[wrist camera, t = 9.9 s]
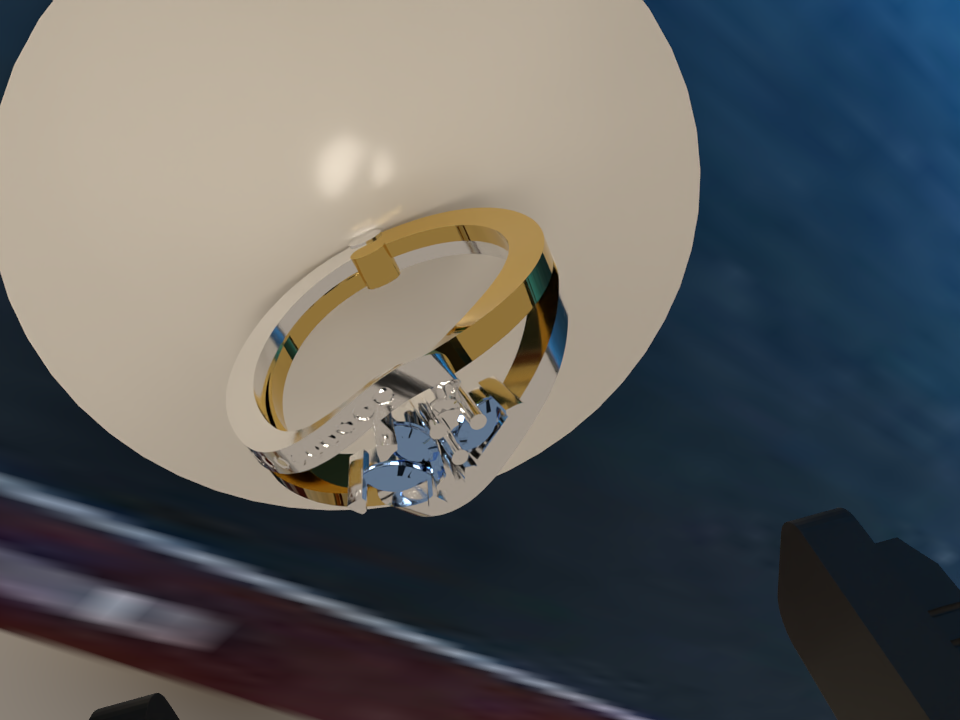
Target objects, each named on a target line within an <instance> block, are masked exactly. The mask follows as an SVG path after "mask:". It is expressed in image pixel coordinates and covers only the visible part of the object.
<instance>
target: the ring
mask: <svg viewBox="0 0 960 720" xmlns="http://www.w3.org/2000/svg"><path fill="white" fill-rule="evenodd" d="M348 246H349V248H348V249H346V250H344V251H342V252H341V253H339V254H337V255H336V256H334V257H332V258H331V259H329V260H328V261H326V262H325V263H323V264H322V265H320V266H319V267H317V268H316V269H315V270H313V271H312V272H311V273H309V274H308V275H307V276H305V277H304V278H303V279H302V280H300V281H299V282H298V283H297V284H296V285H294V286H293V287H292V288H291V289H290V290H289V291H288V292H287V293H286V294H285V295H283V296H282V297H281V298H280V299H279V300H278V301H277V302H276V304H275V305H274V306H273V307H272V308H271V309H270V310H269V311H268V312H267V313H266V315H265V316H264V317H263V318H262V319H261V321H260V322H259V323H258V325H257V326H256V327H255V329H254V330H253V331H252V333H251V334H250V336H249V337H248V339H247V340H246V342H245V344H244V345H243V347H242V349H241V351H240V353H239V355H238V356H237V359H236V361H235V363H234V365H233V368H232V370H231V373H230V376H229V380H228V384H227V390H226V410H227V415H228V418H229V421H230V424H231V426H232V428H233V430H234V432H235V434H236V435H237V437H238V438H239V439H240V441H241V442H242V443H243V444H244V446H245V447H246V448H247V449H248V451H249V452H250V453H251V454H252V456H253V457H254V458H255V459H256V460H257V461H258V462H259V463H260V464H261V465H262V466H263V467H265V468H266V469H268V471H269V472H270V473H271V474H272V475H273V476H274V478H275V479H276V480H277V481H278V482H280V483H281V484H282V485H283V486H284V487H286V488H287V489H289V490H290V491H292V492H294V493H295V494H297V495H299V496H301V497H304V498H306V499H309V500H312V501H315V502H319V503H323V504H328V505H335V506H345V507H348V508H349V509H351V510H353V511H355V512H358V513H361V514H364V513H365V512H366V511H367V507H368V506H380V505H389V506H391V507H394V508H397V509H399V510H402V511H404V512H407V513H409V514H413V515H417V516H437V515H442V514H445V513H448V512H451V511H453V510H456V509H458V508H460V507H461V506H463V505H465V504H466V503H468V502H469V501H471V500H472V499H473V498H475V497H476V496H477V495H478V494H479V493H480V492H481V491H482V490H483V489H484V488H485V487H486V486H487V485H488V484H489V483H490V482H491V481H492V480H493V479H494V478H495V476H496V475H497V474H498V473H499V471H500V470H501V469H502V468H503V466H504V465H505V464H506V462H507V461H508V460H509V458H510V457H511V455H512V454H513V453H514V451H515V450H516V448H517V447H518V445H519V444H520V442H521V441H522V439H523V438H524V436H525V435H526V433H527V432H528V430H529V429H530V427H531V425H532V424H533V422H534V421H535V419H536V417H537V416H538V414H539V412H540V411H541V409H542V407H543V405H544V404H545V402H546V400H547V398H548V396H549V394H550V392H551V389H552V387H553V385H554V383H555V380H556V378H557V375H558V372H559V369H560V366H561V363H562V359H563V355H564V351H565V346H566V340H567V331H568V303H567V295H566V291H565V287H564V284H563V281H562V278H561V275H560V272H559V270H558V267H557V264H556V261H555V258H554V256H553V254H552V252H551V251H550V249H549V246H548V244H547V241H546V239H545V236H544V234H543V231H542V229H541V228H540V226H539V225H538V224H537V223H536V222H535V221H534V220H533V219H531V218H530V217H528V216H526V215H524V214H522V213H519V212H516V211H512V210H508V209H501V208H468V209H460V210H453V211H448V212H443V213H439V214H434V215H430V216H427V217H423V218H420V219H417V220H414V221H410V222H408V223H405V224H402V225H399V226H396V227H394V228H391V229H389V230H386V231H384V232H382V231H381V229H376V230H372V231H369V232H366V233H364V234H362V235H360V236H358V237H356V238H355V239H353V240H352V241H351V242H350V243H349V244H348ZM459 254H483V255H490V256H495V257H499V258H502V259H505V260H506V262H505V264H504V266H503V268H502V270H501V271H500V273H499V275H498V276H497V278H496V279H495V280H494V282H493V283H492V284H491V286H490V287H489V288H488V289H487V291H486V292H485V293H484V294H483V295H482V297H481V298H480V299H479V300H478V301H477V302H476V304H475V305H474V306H473V307H472V308H471V309H470V310H469V311H468V312H467V313H466V314H465V316H464V317H463V318H462V319H461V320H460V321H459V322H458V323H457V324H456V325H455V326H454V327H453V328H452V329H451V330H450V331H449V332H448V333H447V334H446V335H445V336H444V337H443V338H442V339H441V340H440V341H439V342H438V343H437V345H436V346H435V347H434V348H433V349H431V350H430V351H429V352H428V353H427V354H426V355H424V356H422V357H419V358H417V359H414V360H412V361H410V362H407V363H402V364H399V365H396V366H394V367H392V368H390V369H388V370H386V371H384V372H383V373H381V374H380V375H378V376H377V377H375V378H374V379H373V380H371V381H370V382H369V383H367V384H366V385H365V386H364V387H362V388H361V389H360V390H359V391H357V392H356V393H355V394H354V395H352V396H351V397H350V398H349V399H348V400H346V401H345V402H344V403H342V404H341V405H340V406H339V407H337V408H336V409H335V410H333V411H332V412H331V413H329V414H328V415H326V416H325V417H323V418H322V419H320V420H319V421H317V422H315V423H314V424H312V425H310V426H308V427H306V428H303V429H300V430H297V431H290V432H288V429H287V427H286V424H285V420H284V415H283V391H284V385H285V381H286V377H287V374H288V371H289V368H290V366H291V363H292V361H293V359H294V357H295V355H296V353H297V352H298V350H299V348H300V347H301V345H302V344H303V342H304V341H305V339H306V338H307V337H308V335H309V334H310V333H311V331H312V330H313V329H314V328H315V327H316V326H317V325H318V324H319V322H320V321H321V320H322V319H323V318H324V317H326V316H327V315H328V314H329V313H330V312H331V311H332V310H333V309H335V308H336V307H337V306H338V305H339V304H341V303H342V302H343V301H345V300H346V299H348V298H349V297H350V296H352V295H353V294H355V293H357V292H358V291H360V290H361V289H363V288H365V287H367V288H368V289H376V288H379V287H381V286H384V285H386V284H388V283H390V282H392V281H393V280H395V279H396V278H397V277H398V276H399V275H400V271H399V270H401V269H404V268H406V267H409V266H412V265H415V264H418V263H421V262H424V261H427V260H431V259H435V258H440V257H445V256H451V255H459ZM526 315H527V317H526V323H525V328H524V332H523V336H522V339H521V342H520V345H519V348H518V351H517V354H516V356H515V359H514V361H513V364H512V366H511V368H510V370H509V372H508V374H507V376H506V378H505V380H504V382H503V383H502V382H501V381H500V380H499V379H498V378H496V377H495V376H491V377H489V378H486V379H484V380H482V381H480V382H478V385H479V387H477V388H475V389H473V390H471V391H470V392H468V393H467V392H466V390H465V389H464V388H463V386H462V385H461V381H460V379H459V378H458V376H457V374H456V372H458V371H459V370H461V369H462V368H464V367H465V366H467V365H468V364H469V363H471V362H472V361H474V360H475V359H476V358H478V357H479V356H481V355H482V354H483V353H485V352H486V351H487V350H489V349H490V348H491V347H492V346H494V345H495V344H496V343H497V342H499V341H500V340H501V339H502V338H503V337H504V336H506V335H507V334H508V333H509V332H510V331H511V330H512V329H513V328H514V327H515V326H516V325H517V324H519V323H520V321H521V320H522V319H523V318H524V317H525V316H526ZM408 400H409V401H408ZM406 401H408V403H407V404H406V406H405V407H404V408H398V407H399V406H400V405H402V404H403V403H405V402H406ZM372 427H373V433H374V439H375V445H376V447H375V448H372V449H370V450H368V451H366V450H364V449H362V450H360V451H358V452H356V453H355V454H339V453H340V452H342V451H343V450H344V449H346V448H347V447H348V446H350V445H351V444H352V443H354V442H355V441H356V440H357V439H359V438H360V437H361V436H362V435H364V434H365V433H366V432H367V431H368V430H370V429H371V428H372Z"/></svg>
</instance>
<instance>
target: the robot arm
mask: <svg viewBox="0 0 960 720" xmlns="http://www.w3.org/2000/svg"><path fill="white" fill-rule="evenodd" d="M778 604H779V609H780V613H781V617H782V620H783V623H784V626H785V628H786V631H787V633H788V635H789V638H790V640H791V642H792V643H793V645H794V647H795V649H796V650H797V652H798V654H799V655H800V657H801V659H802V660H803V662H804V664H805V665H806V667H807V669H808V671H809V672H810V674H811V676H812V677H813V679H814V681H815V682H816V684H817V686H818V687H819V689H820V691H821V693H822V694H823V696H824V698H825V699H826V701H827V703H828V704H829V706H830V708H831V709H832V711H833V713H834V714H835V716H836V718H837V720H960V590H959V589H958V588H957V586H956V585H955V584H954V583H953V582H952V580H951V579H950V578H949V577H948V575H947V574H946V573H945V572H944V571H943V569H942V568H941V567H940V566H939V565H938V564H937V563H936V562H934V561H933V560H931V559H930V558H928V557H926V556H925V555H923V554H922V553H920V552H919V551H917V550H916V549H914V548H913V547H911V546H909V545H908V544H906V543H905V542H903V541H902V540H900V539H899V538H893V539H890V540H886V541H883V542H879V543H874V542H873V540H872V539H871V538H870V536H869V535H868V534H867V532H866V531H865V530H864V529H863V527H862V526H861V525H860V523H859V522H858V521H857V520H856V518H855V517H854V516H853V515H852V514H851V513H850V512H849V511H847V510H846V509H843V508H836V509H833V510H829V511H825V512H822V513H818V514H814V515H811V516H807V517H804V518H800V519H796V520H793V521H789V522H786V523H784V525H783V527H782V531H781V545H780V563H779V581H778ZM89 720H179V718H178V717H177V715H176V714H175V712H174V711H173V709H172V707H171V706H170V705H169V703H168V702H167V700H166V699H165V697H164V696H163V695H161V694H159V693H155V694H151V695H148V696H144V697H141V698H137V699H133V700H129V701H126V702H122V703H119V704H115V705H111V706H108V707H104V708H101V709H98V710H96V711H95V712H93V714H92V715H91V717H90V719H89Z"/></svg>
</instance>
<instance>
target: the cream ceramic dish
mask: <svg viewBox="0 0 960 720" xmlns="http://www.w3.org/2000/svg"><path fill="white" fill-rule="evenodd" d="M699 189H700V162H699V150H698V139H697V129H696V125H695V121H694V116H693V112H692V108H691V103H690V99H689V95H688V90H687V87H686V85H685V82H684V79H683V77H682V74H681V72H680V69H679V67H678V64H677V61H676V59H675V56H674V54H673V51H672V48H671V47H670V45H669V43H668V41H667V40H666V38H665V36H664V34H663V32H662V31H661V29H660V27H659V25H658V24H657V22H656V20H655V18H654V16H653V15H652V13H651V11H650V9H649V8H648V7H647V5H646V4H645V3H644V2H643V0H53V2H52V3H51V4H50V6H49V7H48V8H47V10H46V11H45V12H44V13H43V15H42V16H41V17H40V19H39V20H38V22H37V24H36V26H35V28H34V30H33V31H32V33H31V35H30V37H29V39H28V41H27V43H26V44H25V46H24V48H23V50H22V52H21V54H20V55H19V57H18V59H17V61H16V63H15V65H14V67H13V70H12V73H11V76H10V79H9V82H8V85H7V87H6V90H5V93H4V96H3V99H2V102H1V105H0V272H1V276H2V279H3V282H4V285H5V289H6V292H7V295H8V298H9V301H10V303H11V305H12V307H13V309H14V311H15V313H16V315H17V317H18V319H19V322H20V324H21V326H22V328H23V330H24V332H25V334H26V336H27V338H28V340H29V341H30V343H31V344H32V346H33V347H34V349H35V350H36V352H37V353H38V355H39V357H40V358H41V360H42V361H43V363H44V364H45V366H46V367H47V369H48V370H49V372H50V373H51V375H52V376H53V377H54V378H55V379H56V380H57V381H58V383H59V384H60V385H61V386H62V387H63V388H64V389H65V391H66V392H67V393H68V394H69V395H70V396H71V398H72V399H73V400H74V401H75V402H76V403H77V404H78V406H79V407H81V408H82V409H83V410H84V411H85V412H86V413H87V414H88V415H90V416H91V417H92V418H93V419H94V420H95V421H96V422H97V423H99V424H100V425H101V426H102V427H103V428H104V429H105V430H106V431H108V432H109V433H110V434H111V435H113V436H114V437H116V438H117V439H118V440H120V441H121V442H123V443H124V444H126V445H127V446H129V447H130V448H131V449H133V450H134V451H136V452H137V453H139V454H140V455H142V456H143V457H145V458H147V459H149V460H150V461H152V462H154V463H156V464H158V465H160V466H162V467H163V468H165V469H167V470H169V471H171V472H173V473H175V474H177V475H178V476H181V477H183V478H186V479H188V480H191V481H193V482H196V483H198V484H201V485H203V486H206V487H208V488H211V489H213V490H216V491H220V492H223V493H227V494H230V495H234V496H237V497H241V498H244V499H248V500H251V501H256V502H262V503H268V504H274V505H279V506H285V507H291V508H305V509H318V510H351V509H349V508H348V507H345V506H335V505H328V504H323V503H319V502H315V501H312V500H309V499H306V498H304V497H301V496H299V495H297V494H295V493H294V492H292V491H290V490H289V489H287V488H286V487H284V486H283V485H282V484H281V483H280V482H278V481H277V480H276V479H275V478H274V476H273V475H272V474H271V473H270V472H269V471H268V469H266V468H265V467H263V466H262V465H261V464H260V463H259V462H258V461H257V460H256V459H255V458H254V457H253V456H252V454H251V453H250V452H249V451H248V449H247V448H246V447H245V446H244V444H243V443H242V442H241V441H240V439H239V438H238V437H237V435H236V434H235V432H234V430H233V428H232V426H231V424H230V421H229V418H228V415H227V410H226V390H227V384H228V380H229V376H230V373H231V370H232V368H233V365H234V363H235V361H236V359H237V356H238V355H239V353H240V351H241V349H242V347H243V345H244V344H245V342H246V340H247V339H248V337H249V336H250V334H251V333H252V331H253V330H254V329H255V327H256V326H257V325H258V323H259V322H260V321H261V319H262V318H263V317H264V316H265V315H266V313H267V312H268V311H269V310H270V309H271V308H272V307H273V306H274V305H275V304H276V302H277V301H278V300H279V299H280V298H281V297H282V296H283V295H285V294H286V293H287V292H288V291H289V290H290V289H291V288H292V287H293V286H294V285H296V284H297V283H298V282H299V281H300V280H302V279H303V278H304V277H305V276H307V275H308V274H309V273H311V272H312V271H313V270H315V269H316V268H317V267H319V266H320V265H322V264H323V263H325V262H326V261H328V260H329V259H331V258H332V257H334V256H336V255H337V254H339V253H341V252H342V251H344V250H346V249H348V248H349V246H348V244H349V243H350V242H351V241H352V240H353V239H355V238H356V237H358V236H360V235H362V234H364V233H366V232H369V231H372V230H376V229H381V231H382V232H384V231H386V230H389V229H391V228H394V227H396V226H399V225H402V224H405V223H408V222H410V221H414V220H417V219H420V218H423V217H427V216H430V215H434V214H439V213H443V212H448V211H453V210H460V209H468V208H501V209H508V210H512V211H516V212H519V213H522V214H524V215H526V216H528V217H530V218H531V219H533V220H534V221H535V222H536V223H537V224H538V225H539V226H540V228H541V229H542V231H543V234H544V236H545V239H546V241H547V244H548V246H549V249H550V251H551V252H552V254H553V256H554V258H555V261H556V264H557V267H558V270H559V272H560V275H561V278H562V281H563V284H564V287H565V291H566V295H567V303H568V331H567V340H566V346H565V351H564V355H563V359H562V363H561V366H560V369H559V372H558V375H557V378H556V380H555V383H554V385H553V387H552V389H551V392H550V394H549V396H548V398H547V400H546V402H545V404H544V405H543V407H542V409H541V411H540V412H539V414H538V416H537V417H536V419H535V421H534V422H533V424H532V425H531V427H530V429H529V430H528V432H527V433H526V435H525V436H524V438H523V439H522V441H521V442H520V444H519V445H518V447H517V448H516V450H515V451H514V453H513V454H512V455H511V457H510V458H509V460H508V461H507V462H506V464H505V465H504V466H503V468H502V469H501V470H500V471H499V473H498V474H497V475H500V474H502V473H504V472H506V471H509V470H510V469H512V468H514V467H516V466H518V465H519V464H521V463H523V462H525V461H527V460H528V459H530V458H532V457H534V456H536V455H537V454H539V453H541V452H542V451H544V450H545V449H547V448H548V447H549V446H551V445H552V444H554V443H555V442H557V441H558V440H560V439H561V438H562V437H564V436H565V435H567V434H568V433H570V432H571V431H572V430H573V429H574V428H576V427H577V426H578V425H579V424H580V423H581V422H583V421H584V420H585V419H586V418H587V417H588V416H590V415H591V414H592V413H593V412H594V411H595V410H597V409H598V408H599V407H600V406H601V405H602V404H603V402H604V401H605V400H606V399H607V398H608V397H609V396H610V395H611V394H612V393H613V392H614V391H615V390H616V389H617V388H618V387H619V386H620V385H621V384H622V382H623V381H624V380H625V379H626V377H627V376H628V375H629V373H630V372H631V371H632V369H633V368H634V367H635V366H636V364H637V363H638V362H639V360H640V359H641V358H642V356H643V355H644V354H645V352H646V351H647V349H648V347H649V346H650V344H651V342H652V341H653V339H654V337H655V336H656V334H657V332H658V331H659V329H660V327H661V326H662V324H663V322H664V321H665V319H666V316H667V314H668V312H669V310H670V307H671V305H672V303H673V301H674V299H675V296H676V294H677V292H678V290H679V288H680V285H681V282H682V278H683V275H684V272H685V269H686V266H687V263H688V259H689V256H690V253H691V250H692V244H693V239H694V233H695V228H696V222H697V216H698V210H699ZM505 262H506V260H505V259H502V258H499V257H495V256H490V255H483V254H459V255H451V256H445V257H440V258H435V259H431V260H427V261H424V262H421V263H418V264H415V265H412V266H409V267H406V268H404V269H401V270H399V271H400V275H399V276H398V277H397V278H396V279H395V280H393V281H392V282H390V283H388V284H386V285H384V286H381V287H379V288H376V289H368V288H367V287H365V288H363V289H361V290H360V291H358V292H357V293H355V294H353V295H352V296H350V297H349V298H348V299H346V300H345V301H343V302H342V303H341V304H339V305H338V306H337V307H336V308H335V309H333V310H332V311H331V312H330V313H329V314H328V315H327V316H326V317H324V318H323V319H322V320H321V321H320V322H319V324H318V325H317V326H316V327H315V328H314V329H313V330H312V331H311V333H310V334H309V335H308V337H307V338H306V339H305V341H304V342H303V344H302V345H301V347H300V348H299V350H298V352H297V353H296V355H295V357H294V359H293V361H292V363H291V366H290V368H289V371H288V374H287V377H286V381H285V385H284V391H283V415H284V420H285V424H286V427H287V429H288V432H290V431H297V430H300V429H303V428H306V427H308V426H310V425H312V424H314V423H315V422H317V421H319V420H320V419H322V418H323V417H325V416H326V415H328V414H329V413H331V412H332V411H333V410H335V409H336V408H337V407H339V406H340V405H341V404H342V403H344V402H345V401H346V400H348V399H349V398H350V397H351V396H352V395H354V394H355V393H356V392H357V391H359V390H360V389H361V388H362V387H364V386H365V385H366V384H367V383H369V382H370V381H371V380H373V379H374V378H375V377H377V376H378V375H380V374H381V373H383V372H384V371H386V370H388V369H390V368H392V367H394V366H396V365H399V364H402V363H407V362H410V361H412V360H414V359H417V358H419V357H422V356H424V355H426V354H427V353H428V352H429V351H430V350H431V349H433V348H434V347H435V346H436V345H437V343H438V342H439V341H440V340H441V339H442V338H443V337H444V336H445V335H446V334H447V333H448V332H449V331H450V330H451V329H452V328H453V327H454V326H455V325H456V324H457V323H458V322H459V321H460V320H461V319H462V318H463V317H464V316H465V314H466V313H467V312H468V311H469V310H470V309H471V308H472V307H473V306H474V305H475V304H476V302H477V301H478V300H479V299H480V298H481V297H482V295H483V294H484V293H485V292H486V291H487V289H488V288H489V287H490V286H491V284H492V283H493V282H494V280H495V279H496V278H497V276H498V275H499V273H500V271H501V270H502V268H503V266H504V264H505ZM526 317H527V315H526V316H525V317H524V318H523V319H522V320H521V321H520V323H519V324H517V325H516V326H515V327H514V328H513V329H512V330H511V331H510V332H509V333H508V334H507V335H506V336H504V337H503V338H502V339H501V340H500V341H499V342H497V343H496V344H495V345H494V346H492V347H491V348H490V349H489V350H487V351H486V352H485V353H483V354H482V355H481V356H479V357H478V358H476V359H475V360H474V361H472V362H471V363H469V364H468V365H467V366H465V367H464V368H462V369H461V370H459V371H458V372H456V374H457V376H458V378H459V379H460V381H461V385H462V386H463V388H464V389H465V390H466V392H467V393H468V392H470V391H471V390H473V389H475V388H477V387H479V385H478V382H480V381H482V380H484V379H486V378H489V377H491V376H495V377H496V378H498V379H499V380H500V381H501V382H502V383H503V382H504V380H505V378H506V376H507V374H508V372H509V370H510V368H511V366H512V364H513V361H514V359H515V356H516V354H517V351H518V348H519V345H520V342H521V339H522V336H523V332H524V328H525V323H526ZM408 401H409V400H408ZM408 401H406V402H405V403H403V404H402V405H400V406H399V407H398V408H404V407H405V406H406V404H407V403H408ZM375 447H376V445H375V439H374V433H373V427H372V428H371V429H370V430H368V431H367V432H366V433H365V434H364V435H362V436H361V437H360V438H359V439H357V440H356V441H355V442H354V443H352V444H351V445H350V446H348V447H347V448H346V449H344V450H343V451H342V452H340V453H339V454H355V453H356V452H358V451H360V450H362V449H364V450H366V451H368V450H370V449H372V448H375ZM497 475H496V476H497ZM381 507H389V505H380V506H368V507H367V509H372V508H381Z"/></svg>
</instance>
